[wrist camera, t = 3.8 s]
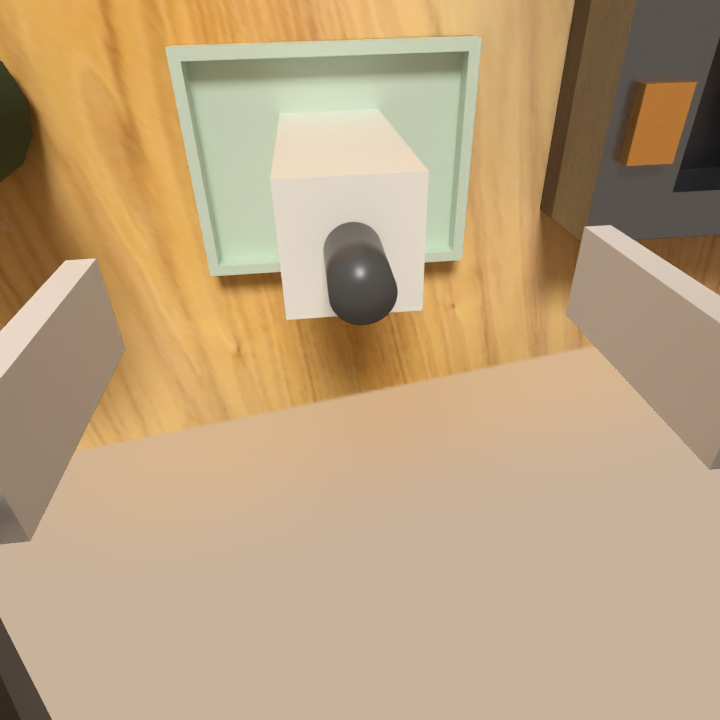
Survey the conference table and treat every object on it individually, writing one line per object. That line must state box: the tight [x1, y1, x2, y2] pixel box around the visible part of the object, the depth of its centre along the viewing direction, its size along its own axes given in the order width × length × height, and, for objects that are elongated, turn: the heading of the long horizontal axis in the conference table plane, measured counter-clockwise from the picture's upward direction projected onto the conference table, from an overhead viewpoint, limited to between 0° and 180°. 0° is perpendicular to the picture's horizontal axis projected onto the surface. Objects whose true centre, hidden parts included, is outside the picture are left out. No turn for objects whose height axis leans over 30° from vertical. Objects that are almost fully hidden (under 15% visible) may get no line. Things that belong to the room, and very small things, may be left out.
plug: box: [270, 109, 429, 325], centre depth 19 cm, size 4×4×14 cm
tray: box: [165, 35, 482, 276], centre depth 25 cm, size 10×13×2 cm
